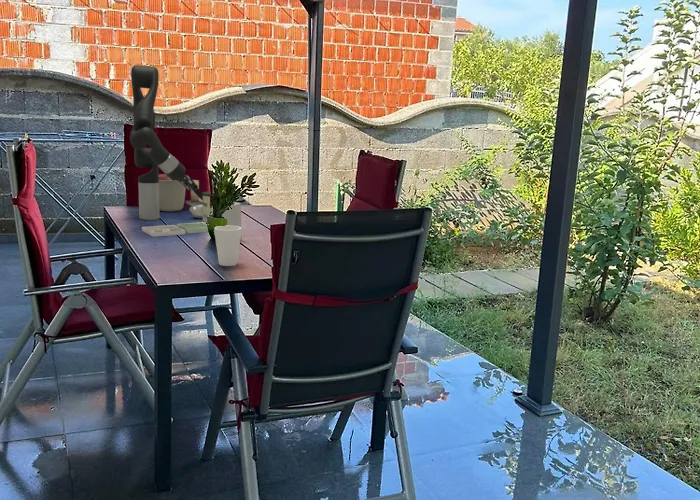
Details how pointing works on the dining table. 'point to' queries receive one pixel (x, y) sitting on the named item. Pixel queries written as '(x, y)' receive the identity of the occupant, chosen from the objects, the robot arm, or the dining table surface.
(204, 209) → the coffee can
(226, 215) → the skincare box
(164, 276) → the dining table surface
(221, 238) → the foam cup
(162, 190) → the canister
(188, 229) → the tray
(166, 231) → the cream square tray
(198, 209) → the silver lobed ball
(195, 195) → the ball
